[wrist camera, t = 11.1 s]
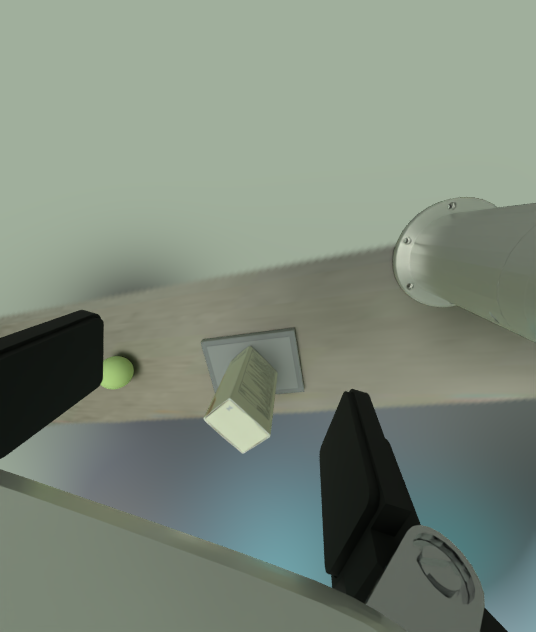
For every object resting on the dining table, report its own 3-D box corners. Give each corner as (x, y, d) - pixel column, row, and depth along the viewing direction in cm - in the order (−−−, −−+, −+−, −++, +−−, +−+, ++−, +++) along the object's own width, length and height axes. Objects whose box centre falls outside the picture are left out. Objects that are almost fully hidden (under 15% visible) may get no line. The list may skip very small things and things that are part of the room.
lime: (142, 356, 41) (121, 373, 36) (138, 381, 43) (118, 400, 38) (113, 346, 41) (88, 361, 36) (110, 372, 43) (86, 389, 38)
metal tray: (294, 327, 36) (294, 330, 35) (304, 387, 39) (304, 392, 38) (203, 339, 38) (200, 342, 37) (218, 395, 41) (216, 399, 40)
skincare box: (230, 360, 38) (199, 417, 26) (250, 343, 36) (227, 395, 25) (259, 389, 39) (241, 456, 27) (280, 374, 37) (271, 437, 26)
